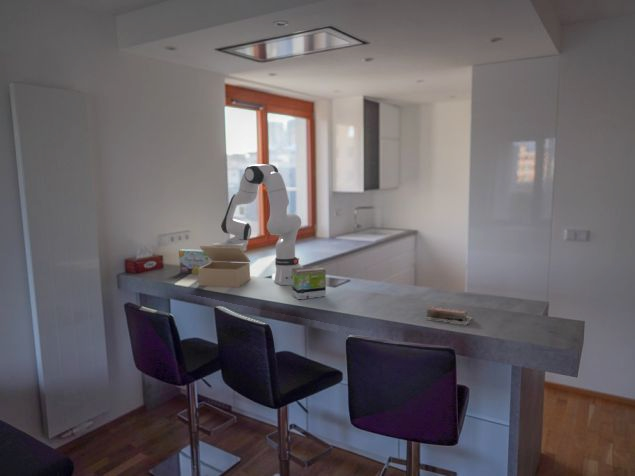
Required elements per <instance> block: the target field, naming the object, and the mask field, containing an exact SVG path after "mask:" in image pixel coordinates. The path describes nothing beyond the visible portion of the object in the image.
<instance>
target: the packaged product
mask: <svg viewBox="0 0 635 476" xmlns="http://www.w3.org/2000/svg"><path fill="white" fill-rule="evenodd" d="M467 314H468V311H465V310H460V309H453V308H446V307H438V306H430V307H429V308H428V309H427V310H426V316H425V318H426V319H431V320H439V321H447V322H454V323H461V324H468V323H469V322H470V323H471V321H472V320H473V317H472V316H467ZM425 318H424V319H425ZM471 319H472V320H471ZM431 320H430V321H431ZM470 320H471V321H470ZM470 323H469V324H470ZM469 324H468V325H469Z"/></svg>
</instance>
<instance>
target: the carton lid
mask: <svg viewBox="0 0 635 476" xmlns="http://www.w3.org/2000/svg"><path fill="white" fill-rule="evenodd" d="M199 248H200V250H203V251H204V253H205V254H206V255H207V256H208V257H209V258H210V259H211V260H212V262H232V263H251V260H250V258H249V257H248V255H246V253H245V252H244V251H243V250H242V249H241V248H240V247H229V246H212V245H199Z"/></svg>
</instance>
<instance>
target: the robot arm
mask: <svg viewBox="0 0 635 476" xmlns="http://www.w3.org/2000/svg"><path fill="white" fill-rule="evenodd" d="M261 184H262V185H264V186H265V188H266V189H265V190H266V193H267V194H266V195H267V198H268V202H269V207H270V208H269V209H270V210H269V211H270V212H269V218H268V221H267V223H266V229H267V231H268V234H270V235H273V236H279V237H278V240H277V242H276V243H275V260H274V264H275V274H274V275H275V277H274V283H275V284H278V285H280V286H292V268H301V267H304V266H302V265H301V264H300V263H299V260H300V257H296V242H297V241H296V240H297V235H298V232H299V230H300V228H301V226H302V219H301V217H300V216H299V215H298V214H295V213H287V212H288V211H287V210H288V206H289V205H290V200H289V196H288V191H287V187H286V184H285V181H284V178H283V176H282V175H281V173H280V172H279V170H278V168H277V166H276V165H273V164H271V163H270V164H269V163H268V164H264V163H263V164H262V163H260V164H251V165H249V166H247V167H246V168H245V170H244V173H243V174H242V176H241V180H240V182H239V187H238V191H237V192H236V193H235V194H233V196H232V197H231V198H230V201H229V203H228V207H227V210H226V213H225V215H224V217H223V220H222V222H221V224H220V225H221V226H220V228H221V230H222V232H223V233H224V234H229V235H232V236H233V237H230V238H228V239H227V240H226V241H224V242H214V243H212V244H211V246H229V247H240V248H241V249H242V250H243V252H244V251H247V247H248V243H249V239H250V237H251V236H252V235H251V234H252V227H251V225H250V223H248V222H245V221H242V220H240V219H239V220H238V219H235V218H234V215H235V212H236V208H237V206H240V205H248V204H251V203H253V202H254V201H255V200H256V198H257V195H258V191H259V186H260V185H261Z"/></svg>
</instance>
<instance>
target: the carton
mask: <svg viewBox="0 0 635 476" xmlns="http://www.w3.org/2000/svg"><path fill="white" fill-rule="evenodd" d="M250 268H251V267H250V262H221V261H212V262H211V263H209V264H207V265H205V266H202V267H200V268H198V274H197V275H198V285H199V286H202V287H223V288H224V287H225V288H226V287H228V288H239V287H241V286H242V285H244V284H246V283H247V282H248V281H250V280H251V270H250ZM240 285H241V286H240Z"/></svg>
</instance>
